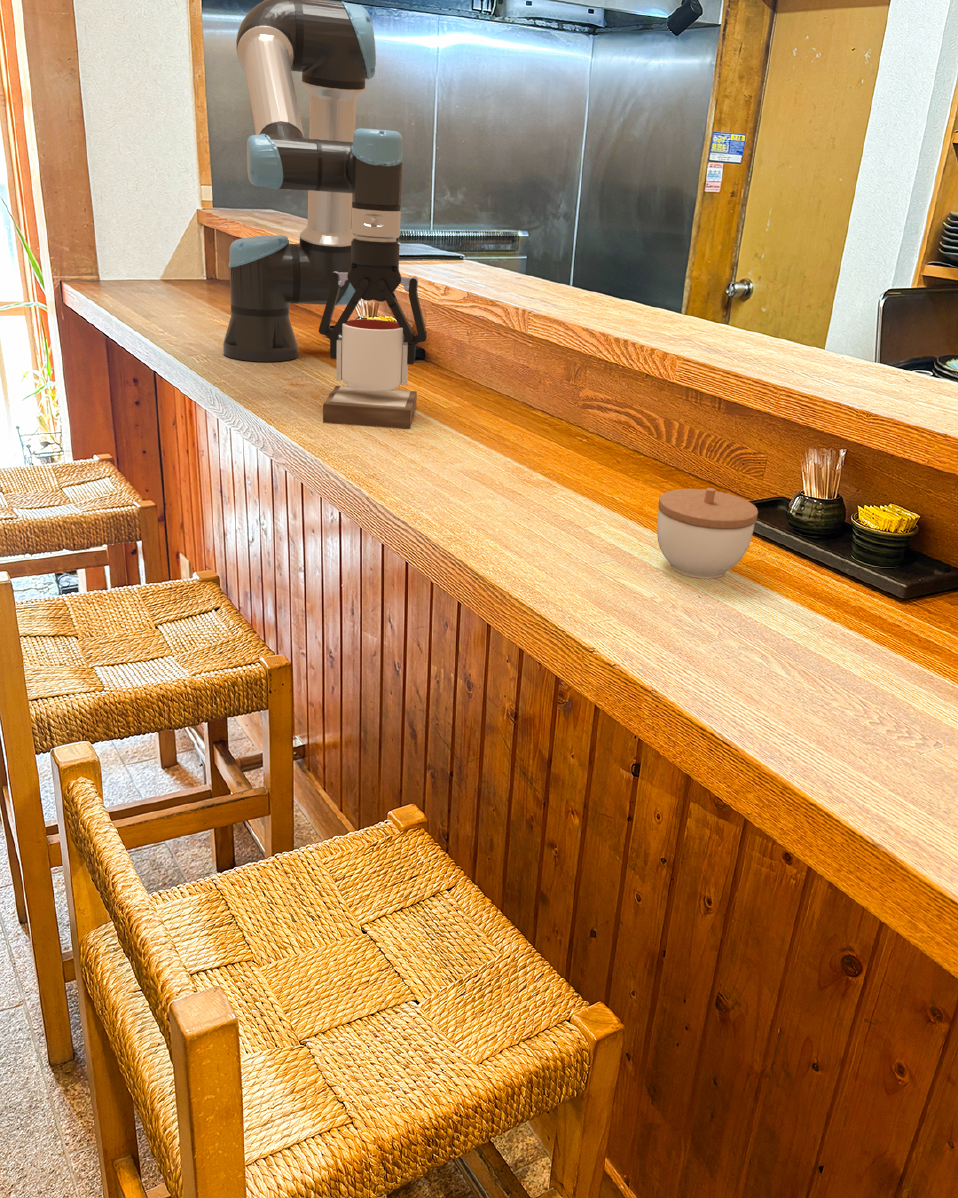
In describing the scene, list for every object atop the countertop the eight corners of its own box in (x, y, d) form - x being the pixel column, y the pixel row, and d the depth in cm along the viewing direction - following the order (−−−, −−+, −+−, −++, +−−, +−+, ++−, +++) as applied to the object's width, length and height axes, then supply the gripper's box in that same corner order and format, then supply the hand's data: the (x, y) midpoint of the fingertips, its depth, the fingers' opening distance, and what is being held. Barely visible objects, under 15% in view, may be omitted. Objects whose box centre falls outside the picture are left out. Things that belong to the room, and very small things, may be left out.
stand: (335, 402, 170) (335, 383, 169) (416, 408, 170) (416, 389, 169) (322, 422, 157) (323, 402, 156) (409, 428, 158) (410, 408, 156)
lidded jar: (762, 571, 111) (778, 492, 107) (716, 596, 104) (731, 512, 100) (680, 544, 117) (693, 469, 113) (631, 565, 110) (642, 486, 106)
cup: (392, 395, 157) (394, 332, 152) (333, 388, 158) (333, 325, 154) (409, 383, 166) (411, 323, 161) (352, 377, 167) (353, 316, 163)
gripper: (298, 234, 149) (299, 381, 158) (446, 246, 149) (439, 391, 158) (307, 231, 156) (307, 371, 165) (448, 242, 156) (441, 381, 165)
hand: (372, 381), depth 162 cm, fingers closed on cup, 10 cm apart
